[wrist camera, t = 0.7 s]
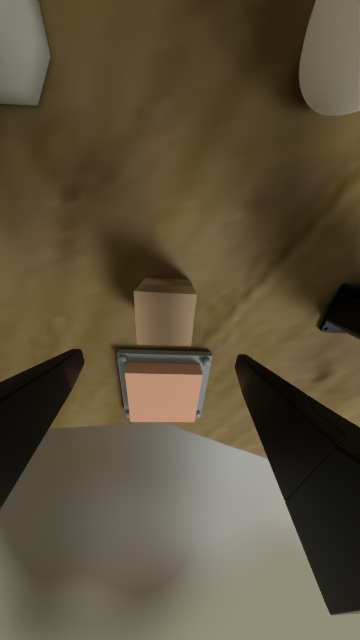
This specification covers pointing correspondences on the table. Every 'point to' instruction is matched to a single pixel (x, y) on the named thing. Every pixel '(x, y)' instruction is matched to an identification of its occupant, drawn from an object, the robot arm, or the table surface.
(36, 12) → the flask
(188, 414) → the brick base
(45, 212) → the table surface
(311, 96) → the sauce bottle
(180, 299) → the tan wooden block
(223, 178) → the table surface
